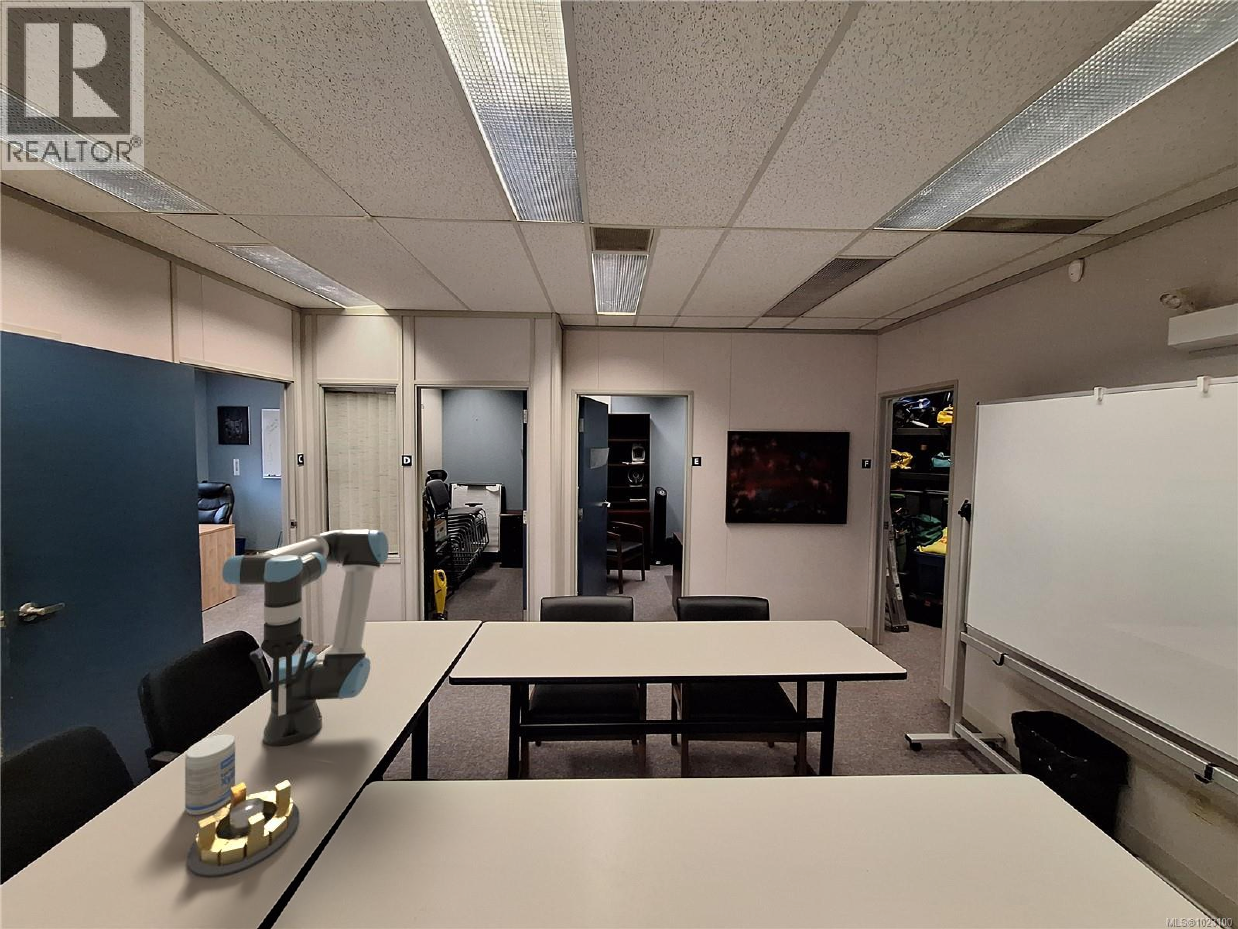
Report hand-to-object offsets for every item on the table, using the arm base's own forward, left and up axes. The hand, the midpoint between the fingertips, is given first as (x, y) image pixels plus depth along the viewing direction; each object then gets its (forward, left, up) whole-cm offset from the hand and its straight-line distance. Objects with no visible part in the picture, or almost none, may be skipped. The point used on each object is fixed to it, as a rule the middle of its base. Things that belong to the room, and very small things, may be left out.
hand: (282, 712), depth 114 cm
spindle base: (+9, +1, -24) cm, 26 cm away
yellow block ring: (+9, +1, -23) cm, 25 cm away
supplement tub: (+4, -18, -25) cm, 31 cm away
